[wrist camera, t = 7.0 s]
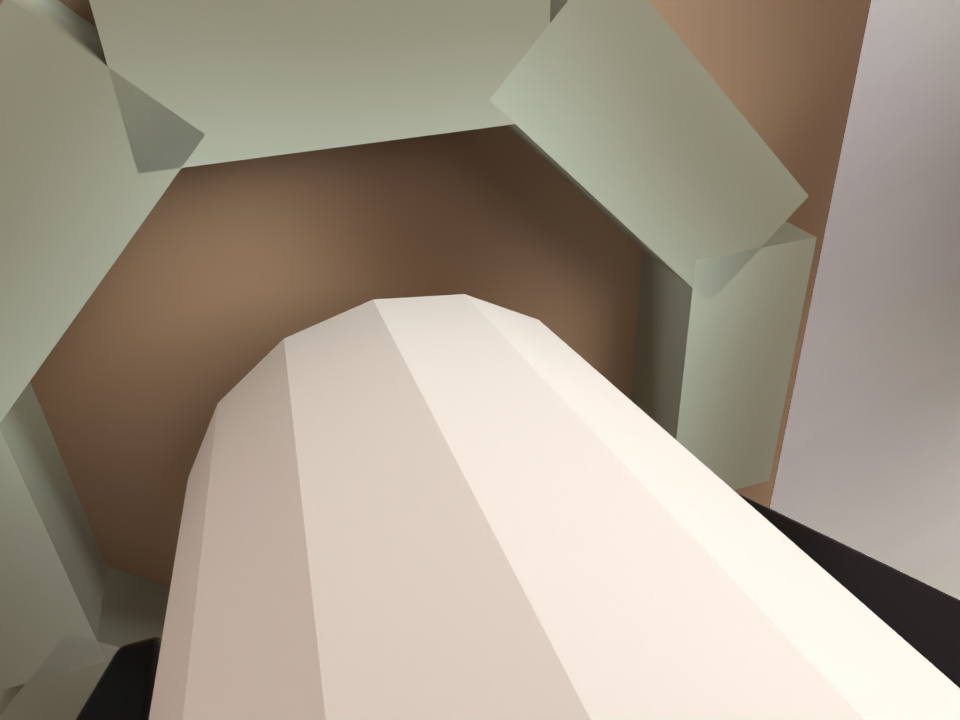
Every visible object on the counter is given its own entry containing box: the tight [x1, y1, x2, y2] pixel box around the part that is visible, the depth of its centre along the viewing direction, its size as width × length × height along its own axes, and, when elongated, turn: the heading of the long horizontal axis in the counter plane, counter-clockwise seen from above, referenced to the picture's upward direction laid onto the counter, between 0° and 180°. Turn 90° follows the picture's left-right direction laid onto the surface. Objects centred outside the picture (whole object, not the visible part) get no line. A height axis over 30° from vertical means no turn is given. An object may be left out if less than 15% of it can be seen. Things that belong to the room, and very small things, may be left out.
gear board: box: [0, 0, 871, 720], centre depth 14 cm, size 16×24×4 cm, turn 3°
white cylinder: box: [149, 294, 960, 720], centre depth 7 cm, size 7×7×7 cm
